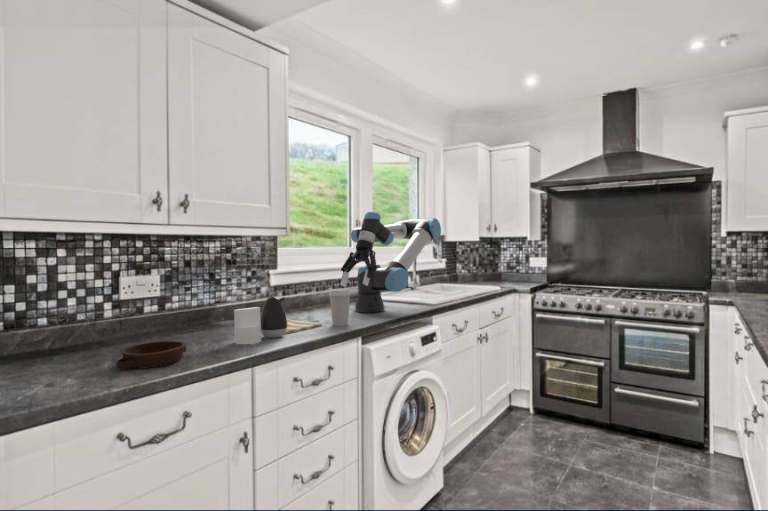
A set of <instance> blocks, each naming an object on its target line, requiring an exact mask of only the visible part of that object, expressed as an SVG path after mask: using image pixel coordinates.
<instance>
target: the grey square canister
mask: <svg viewBox="0 0 768 511" xmlns="http://www.w3.org/2000/svg"><path fill="white" fill-rule="evenodd" d="M233 313H234V314H233V315H234V316H233V319H234V344H235V343H236V344H235V345H237V344H251V345H256V344H255V343H257V344H260V343H262V333H261V322H260V317H261V307H259V306H254V307H253V306H252V307H245V308H237V309H233ZM259 342H260V343H259Z"/></svg>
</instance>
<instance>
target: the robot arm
mask: <svg viewBox="0 0 768 511" xmlns="http://www.w3.org/2000/svg"><path fill="white" fill-rule="evenodd" d="M441 234H442V227H441V223H440V221H439V220H438V218H436V217H427V218H426V217H425V218H412V219H410V218H409V219H406V220H402V221H397V222H395V223H393V224H386V225H385V224H383V223H382V222H381V214H380V213H379V212H376V211H373V210H370V211H366V212H365V214H364V217H363V219H362V224H361V227H355V228H353V229H352V230H351V233H350V238H351V241H352V242H354V243H356V246H355V250H356V251H355V252H353V251H350V253H349V256H347V259H346V260H345V262H344V263H343V265H342V267H341V268H340V271H341V272H342V276H341V281H340V286H342V287H344V288H346V287H347V284H348V280H349V277H350V272H351V271H352V269H354V267H355V266H356V265H357V264H359V263H361V262H363V263H365V265H364V266H360V267H359V268H358V269H357V274H356V275H357V291H358V292H357V294H358V295H357V298H356V302H355V306H354V311H355V312H356V313H357V312H358V313H379V312H384V311H385V304H384V301H383V298H382V292H391V293H397V292H398V293H399V292H402V291H403V290H404V289H405V288H406V287H407V285H408V283H409V282H408V280H409V269H410V268H411V266H412V265H413V264H414V262H415V260H416V259H417V258H418V257H419V255H420V253H421V252H422V251H423V249H424V248H425V246H429V245H430V244H431V243H432V242H433V240H438V239H439V238H440V237H441ZM394 239H397V240H408V241H407V242H406V243H405V245H404V246H403V248H402V249H401V251H399V253H398V254H397V256H396V257H395V258H394V260H390V261H388V262H387V264H386V266H385V267H384V266H383V267H382V266H381V265H380V264H377V261H376V251H374V250H373V247H374V244H375V243H380V244H381V245H382V246H385V247H386V246H389V245H391V244H392V243H393V241H394Z"/></svg>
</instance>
